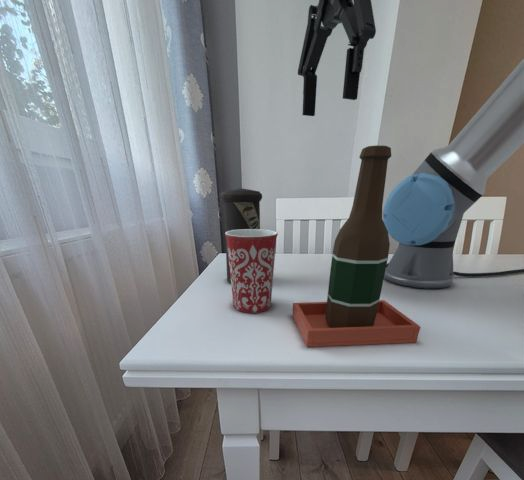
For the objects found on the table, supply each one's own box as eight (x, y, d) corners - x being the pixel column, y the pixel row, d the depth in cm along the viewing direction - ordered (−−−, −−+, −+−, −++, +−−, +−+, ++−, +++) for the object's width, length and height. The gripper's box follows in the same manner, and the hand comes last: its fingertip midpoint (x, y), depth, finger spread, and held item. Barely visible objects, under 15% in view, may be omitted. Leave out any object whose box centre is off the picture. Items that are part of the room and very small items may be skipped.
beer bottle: (315, 319, 50) (331, 148, 38) (352, 313, 52) (378, 151, 41) (343, 338, 43) (374, 140, 32) (384, 330, 46) (426, 144, 34)
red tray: (381, 313, 54) (384, 300, 52) (416, 342, 44) (420, 326, 42) (292, 316, 52) (292, 302, 51) (306, 347, 42) (308, 331, 41)
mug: (280, 313, 53) (282, 235, 47) (230, 316, 52) (226, 236, 46) (268, 292, 64) (269, 226, 58) (227, 294, 63) (223, 227, 57)
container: (255, 287, 68) (254, 188, 58) (219, 284, 70) (213, 188, 60) (266, 278, 75) (267, 188, 65) (234, 275, 77) (230, 188, 68)
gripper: (419, -108, 40) (389, 92, 50) (315, -7, 60) (308, 122, 70) (377, -130, 37) (354, 86, 47) (283, -17, 57) (281, 119, 67)
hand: (327, 108), depth 59 cm, fingers open, 13 cm apart
